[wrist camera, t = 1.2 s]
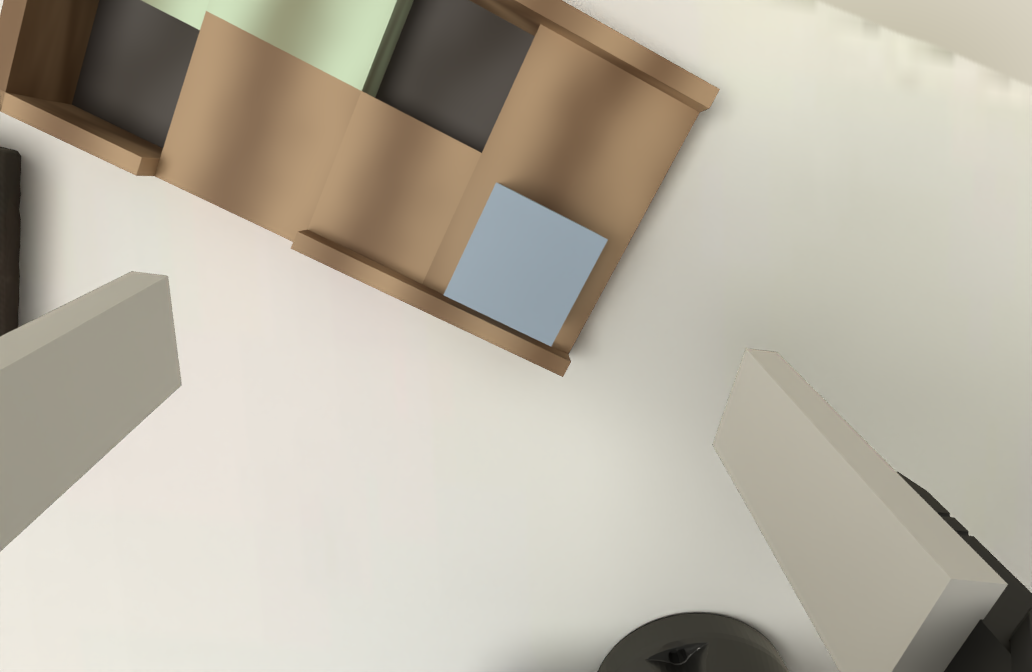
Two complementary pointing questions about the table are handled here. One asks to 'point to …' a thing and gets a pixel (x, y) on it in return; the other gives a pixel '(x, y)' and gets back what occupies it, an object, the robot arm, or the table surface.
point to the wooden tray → (366, 123)
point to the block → (524, 265)
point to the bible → (9, 238)
